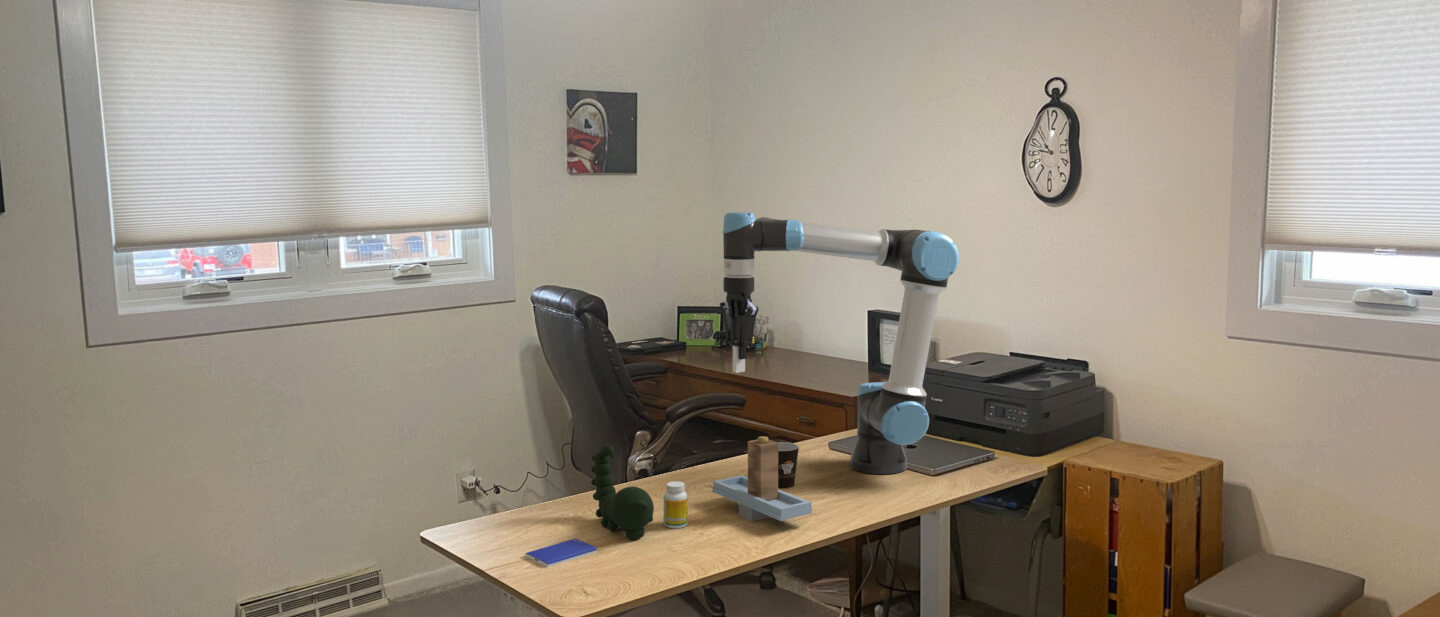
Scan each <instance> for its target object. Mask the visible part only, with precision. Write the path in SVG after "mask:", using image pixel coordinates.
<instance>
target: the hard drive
mask: <svg viewBox="0 0 1440 617" xmlns="http://www.w3.org/2000/svg"><path fill="white" fill-rule="evenodd" d="M596 553H598V548H597V547H596V546H594V545H592V544H590V543H587V542H585V541H583V540H580V539H578V538H572V539H568V540H566V541H562V542H559V543H554V544H552V545H551V544H550V545H548V546H545V547H542V548H541V547H540V548H538V549H534V550H531V551H528V552H525V553H524V554H525V555H524V556H525V558H527V559H529V560H531V561H533V562H535V563H538V564H540V565H541V566H543V567H546V568H550V567H555V566H557V565H561V564H563V563H567V562H570V561H573V560H577V559H579V558H582V557H586V556H590V555H592V554H596Z"/></svg>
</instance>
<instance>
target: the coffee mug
mask: <svg viewBox="0 0 1440 617" xmlns="http://www.w3.org/2000/svg"><path fill="white" fill-rule="evenodd" d="M777 442H778V489H789V488H793V487H794V486H795V482H796V480H795V479H796V475H797V474H796V473H797V465H798V457H799V448H800V446H799V445H798V444H796V443H794V442H793V443H792V442H786V441H785V442H784V441H777Z"/></svg>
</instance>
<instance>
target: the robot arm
mask: <svg viewBox="0 0 1440 617" xmlns="http://www.w3.org/2000/svg"><path fill="white" fill-rule="evenodd" d="M722 234H723V236H722V237H723V241H722V242H723V275H725V276H724V278H722V280H723V282H722V283H723V285H722V286H723V292H724V293H726V297H725V300H724V302H720V303H719V307H720V311H721V312H722V319H723V321H722V322H723V326H724V327H723V328H724V333H725V341H726V342H729V343H730V345H731V357H732V358H731V359H732V373H735V374H737V373H738V374H739V373H744V372H745V373H746V358H747V346H748V345H751V344H752V343H753V340H754V339H753V338H754V333H755V332H754V331H755V326H756V325H755V324H756V318H757V315H758V312H759V310H760V309H759V306H758V305H757V306H755V305H754V304H753V299H752V293H754V291H755V278H754V275H755V272H756V269H755V268H756V267H755V252H791V251H792V252H799V253H807V254H808V253H809V254H817V255H823V256H831V257H839V258H840V257H841V258H847V259H856V260H864V261H870V262H871V261H872V262H873V263H874V264H875V265H876V266H879V267H880V266H881V267H887V268H891V269H895V270H898V271H901V275H900V283H901V284H902V286H904V292H903V298H902V303H901V309H900V314H899V318H898V320H899V321H898V326H897V332H896V338H895V343H894V348H893V353H892V359H891V360H892V361H891V365H890V369H889V370H890V371H889V377H888V380H887V381H885V382H883V381H882V382H881V381H879V382H877V381H876V382H875V381H874V382H865V383H861V384H860V385H859V386H858V390H857V395H856V397H857V438H856V441H855V444H854V445H853V446H854V447H853V450H852V453H851V456H850V462H849V463H850V465H849V466H850V467H851V468H852V469H854V470H855V471H858V472H862V473H866V474H872V475H873V474H875V475H890V474H892V475H893V474H898V473H902V472H904V471H906V470H907V469H908V458H907V456H906V452H905V449H904V446H909V445H912V444H915V443H916V442H918V441H919V440H921V439H922V438H923V437H924V436H925V434H927V431H928V429H929V424H930V417H929V413H928V411H927V409H926V407H925V406H926V403H927V395H928V394H927V392H926V390H925V388H923V387H924V386H923V383H924V378H925V372H926V366H927V362H928V358H929V351H930V350H929V349H930V345H931V340H932V334H933V328H934V324H935V318H936V317H935V316H936V312H937V307H938V302H939V297H940V294H941V293H942V292H943V291H946V290H947V286H948V282H949V281H948V280H949V278H950V277H951V276H952V275H953V274H954V273H955V272H956V270H957V268H958V266H959V261H960V255H959V249H958V247H957V245H956V244H955V242H954V240H952V239H951V238H950V237H949V236H948V235H946V234H944V233H941V232H940V231H939V232H938V231H934V230H933V231H932V230H931V231H930V230H924V229H885V228H882V229H879V231H871V230H864V229H863V230H862V229H857V228H855V229H854V228H846V227H841V226H840V227H839V226H833V225H832V226H831V225H825V224H824V225H822V224H817V223H815V224H814V223H808V222H807V223H806V222H801V221H800V220H798V219H789V218H788V219H776V218H771V217H770V218H769V217H767V216H766V217H764V216H762V217H758V218H755V214H754V213H753V212H749V211H746V212H745V211H737V212H736V211H735V212H733V211H732V212H731V211H730V212H727V213H725V215H724V217H723V229H722ZM906 466H907V467H906Z"/></svg>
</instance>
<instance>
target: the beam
mask: <svg viewBox="0 0 1440 617" xmlns="http://www.w3.org/2000/svg"><path fill="white" fill-rule="evenodd" d="M712 493H714V494H717V495H719V496H721V497H724V498H726V499H729V500H731V501H733V502H736V503H737V504H738V516H739V517H740V518H743V519H746V520H748V521H750V522H755V521H759V520H762V519H767V518H773V519H775V520H777V521H779V522H783V521H786V520H791V519H795V518H798V517H803V516H807V515H810V514H811V515H812V514H813V508H812V502H811V501H809V500H807V499H804V498H801V497H799V496H797V495H793V494H792V493H789V492H786V491H783V490H781V489H780V488H778V498H774V499H770V500H764V499H761V498H759V497H757V496H754V495H752V494H749V493H748V476H745V475H743V474H742V475H736V476H732V477H727V478H723V479H718V480H717V479H716V480H713V481H712Z"/></svg>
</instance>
